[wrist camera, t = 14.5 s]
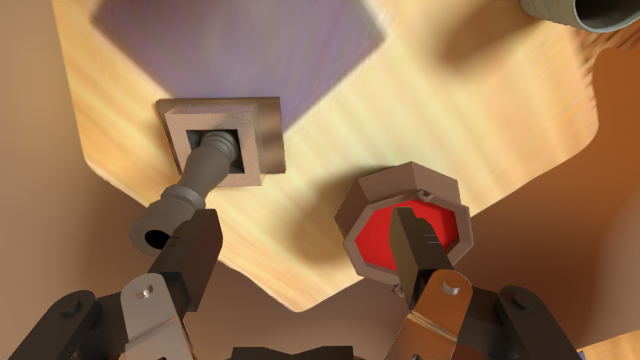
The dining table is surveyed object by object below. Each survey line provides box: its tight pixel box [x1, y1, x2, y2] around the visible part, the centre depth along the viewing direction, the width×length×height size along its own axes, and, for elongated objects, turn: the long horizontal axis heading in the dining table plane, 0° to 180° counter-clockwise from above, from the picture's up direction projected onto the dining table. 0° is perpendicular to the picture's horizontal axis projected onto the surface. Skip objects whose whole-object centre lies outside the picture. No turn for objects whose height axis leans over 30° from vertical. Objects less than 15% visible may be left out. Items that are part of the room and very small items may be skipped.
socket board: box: [156, 97, 286, 175], centre depth 51 cm, size 14×20×2 cm
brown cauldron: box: [334, 161, 474, 298], centre depth 52 cm, size 24×24×16 cm
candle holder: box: [130, 129, 241, 258], centre depth 40 cm, size 6×6×25 cm
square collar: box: [164, 103, 266, 187], centre depth 49 cm, size 13×13×5 cm
